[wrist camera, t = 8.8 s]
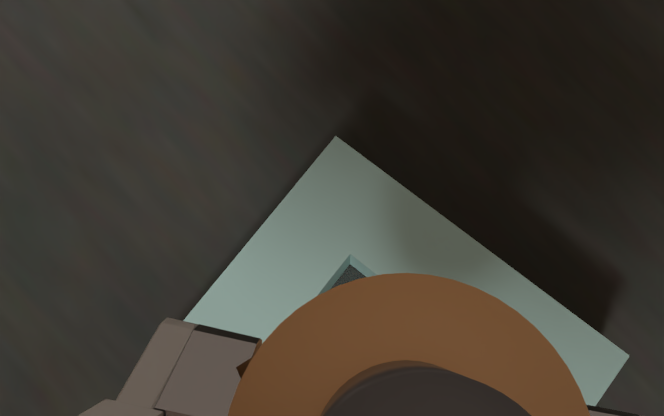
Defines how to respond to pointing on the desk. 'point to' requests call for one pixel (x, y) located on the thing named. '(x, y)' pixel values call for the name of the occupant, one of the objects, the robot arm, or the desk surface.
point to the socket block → (380, 262)
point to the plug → (407, 356)
